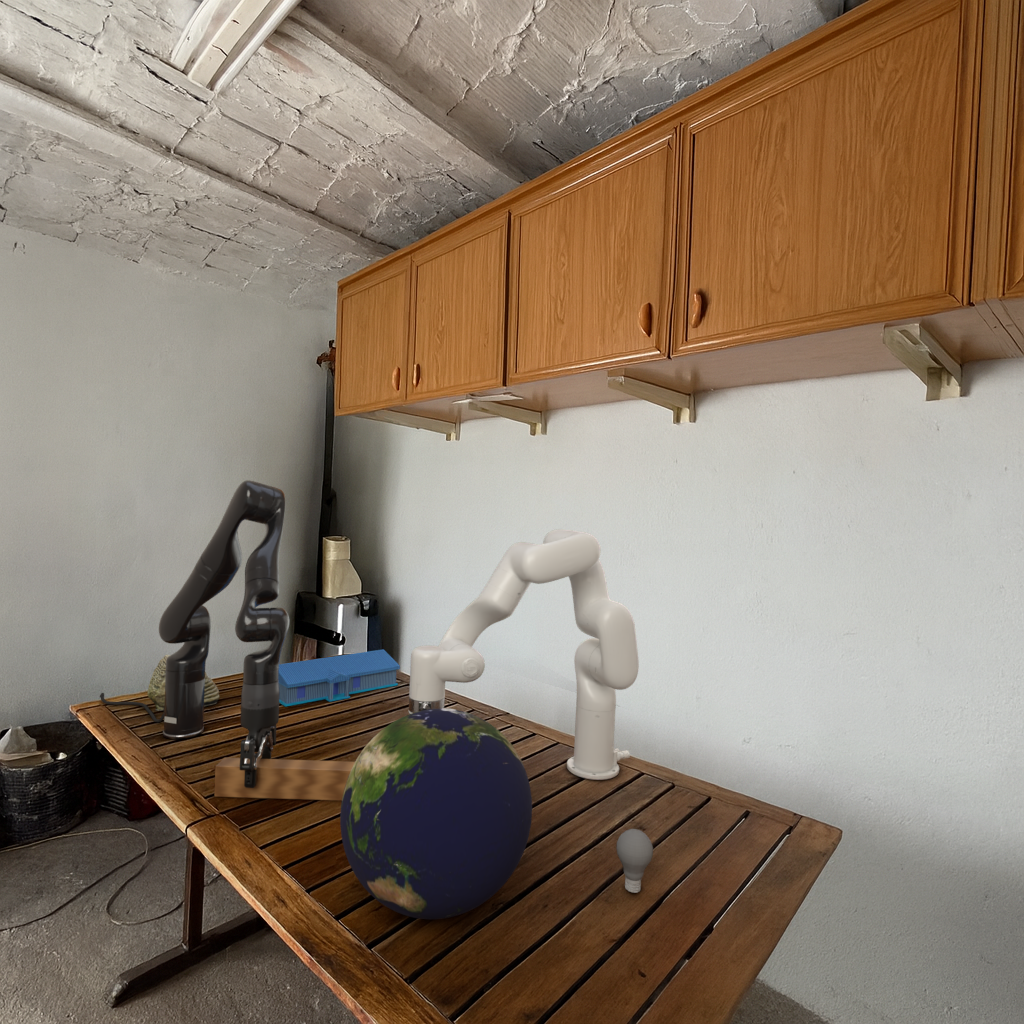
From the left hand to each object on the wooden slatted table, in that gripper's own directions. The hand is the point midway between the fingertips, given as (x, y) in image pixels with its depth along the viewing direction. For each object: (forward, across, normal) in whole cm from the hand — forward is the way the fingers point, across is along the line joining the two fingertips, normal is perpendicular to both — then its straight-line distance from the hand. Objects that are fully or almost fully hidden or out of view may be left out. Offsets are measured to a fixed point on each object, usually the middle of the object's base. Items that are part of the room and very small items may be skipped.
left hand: (258, 777), depth 134 cm
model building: (+3, +74, +3) cm, 74 cm away
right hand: (+1, 0, -35) cm, 35 cm away
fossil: (+3, +52, +40) cm, 66 cm away
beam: (+3, 0, -17) cm, 18 cm away
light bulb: (+4, -31, -73) cm, 80 cm away
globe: (+4, -35, -41) cm, 54 cm away
